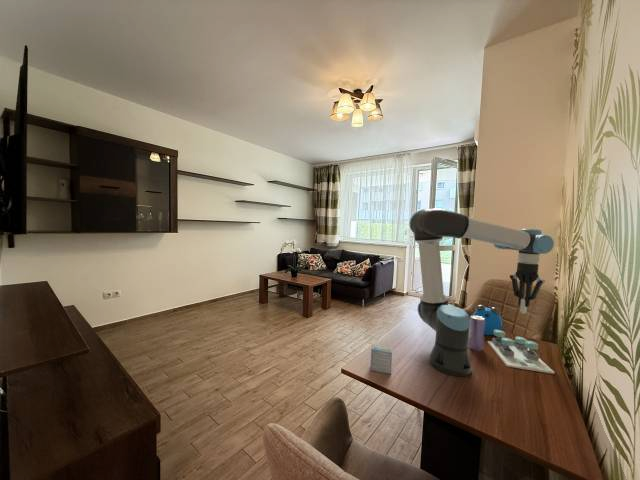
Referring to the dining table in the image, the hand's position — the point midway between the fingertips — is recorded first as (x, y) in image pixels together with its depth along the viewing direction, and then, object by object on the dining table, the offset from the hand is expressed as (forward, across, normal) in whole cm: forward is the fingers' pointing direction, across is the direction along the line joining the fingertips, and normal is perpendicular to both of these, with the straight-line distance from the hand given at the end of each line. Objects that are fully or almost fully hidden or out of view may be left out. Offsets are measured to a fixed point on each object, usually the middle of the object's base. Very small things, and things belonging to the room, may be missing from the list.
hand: (523, 312), depth 118 cm
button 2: (+15, -6, +6) cm, 17 cm away
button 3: (+15, +6, +6) cm, 17 cm away
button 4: (+17, 0, 0) cm, 17 cm away
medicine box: (+19, +17, +71) cm, 75 cm away
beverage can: (+18, +10, +18) cm, 28 cm away
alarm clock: (+18, +17, -4) cm, 25 cm away
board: (+18, -3, +8) cm, 20 cm away
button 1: (+15, 0, +12) cm, 19 cm away
